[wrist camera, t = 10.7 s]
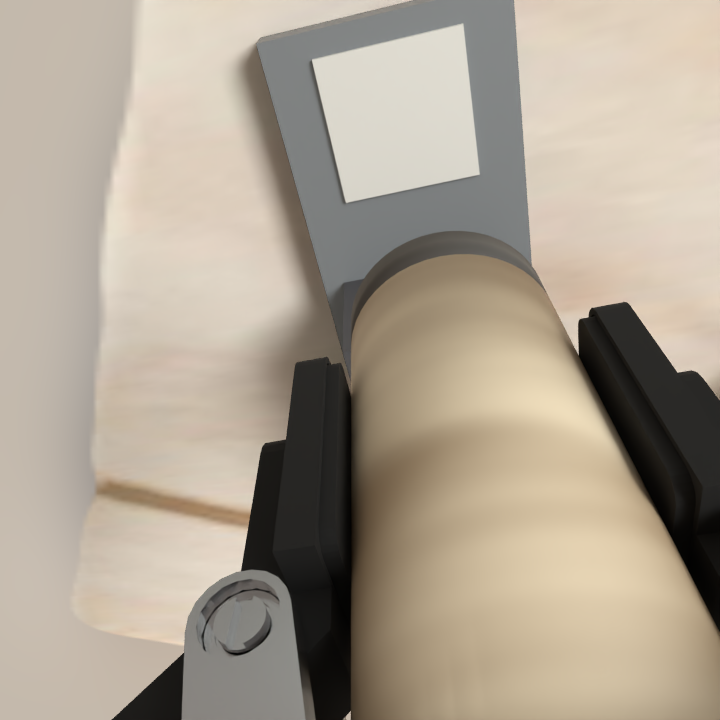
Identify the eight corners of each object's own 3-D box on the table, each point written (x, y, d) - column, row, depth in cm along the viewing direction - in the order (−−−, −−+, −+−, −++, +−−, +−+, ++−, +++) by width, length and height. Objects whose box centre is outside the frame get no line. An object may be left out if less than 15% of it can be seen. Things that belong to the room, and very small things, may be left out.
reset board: (534, 390, 37) (571, 485, 31) (365, 419, 38) (368, 517, 32) (504, -23, 25) (554, -2, 19) (260, 37, 26) (232, 75, 20)
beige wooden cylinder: (549, 379, 14) (820, 1024, 6) (372, 409, 15) (398, 1048, 6) (540, 211, 12) (958, 879, 4) (330, 253, 12) (290, 933, 4)
